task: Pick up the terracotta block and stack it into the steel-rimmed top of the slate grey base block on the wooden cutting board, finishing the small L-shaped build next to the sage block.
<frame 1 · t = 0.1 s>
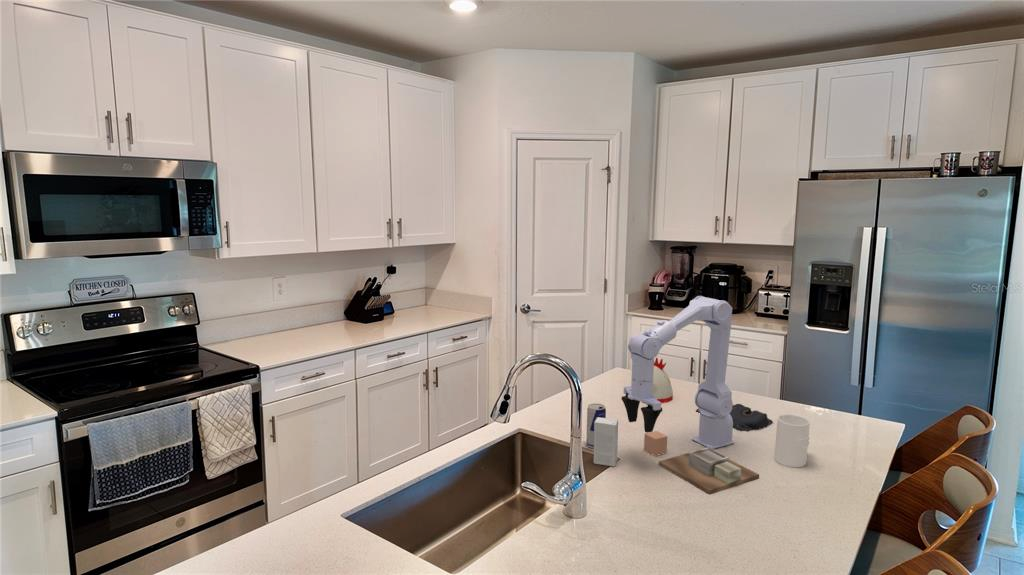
hand: (640, 426, 160), 10 cm above the countertop, tool pointing down, fingers open, 7 cm apart
wooden cutting board: (707, 471, 156), on the countertop
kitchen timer: (652, 397, 213), on the countertop
dark slate chunk: (733, 419, 194), on the countertop
energy drink: (595, 446, 171), on the countertop
terracotta block: (655, 451, 168), on the countertop
skincare box: (605, 462, 161), on the countertop
mug: (794, 460, 163), on the countertop
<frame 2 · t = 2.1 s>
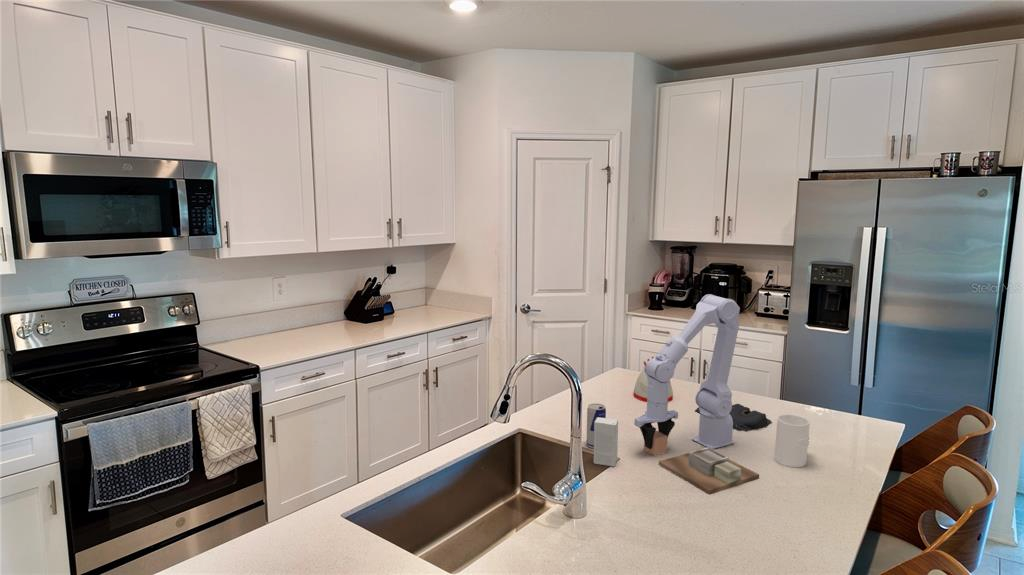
hand: (655, 445, 167), 2 cm above the countertop, tool pointing down, fingers closed on terracotta block, 4 cm apart
terracotta block: (655, 451, 168), on the countertop, touching gripper
everything else where it was.
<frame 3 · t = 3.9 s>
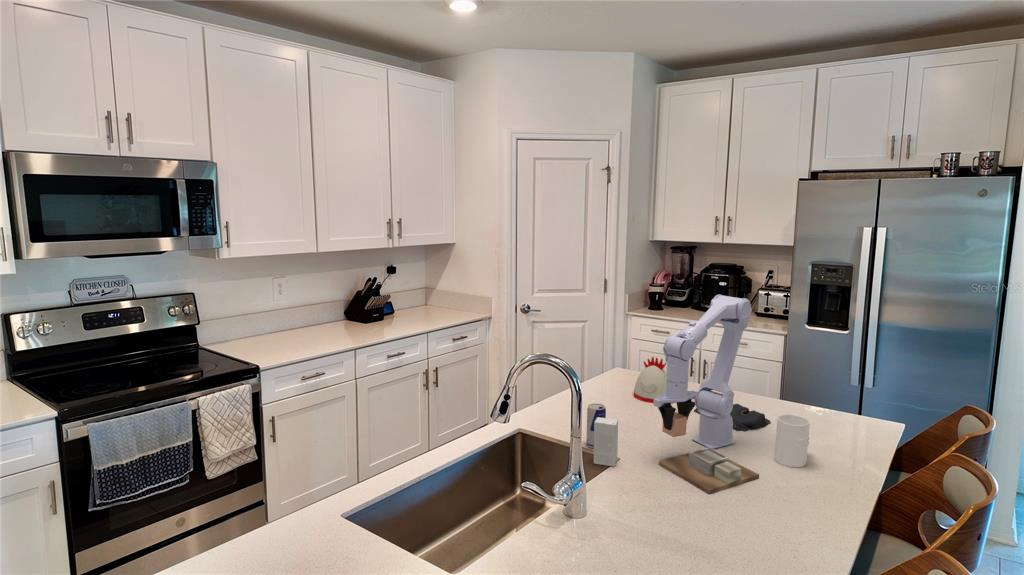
hand: (674, 427, 162), 9 cm above the countertop, tool pointing down, fingers closed on terracotta block, 4 cm apart
terracotta block: (674, 432, 162), point 7 cm above the countertop, touching gripper
everything else where it was.
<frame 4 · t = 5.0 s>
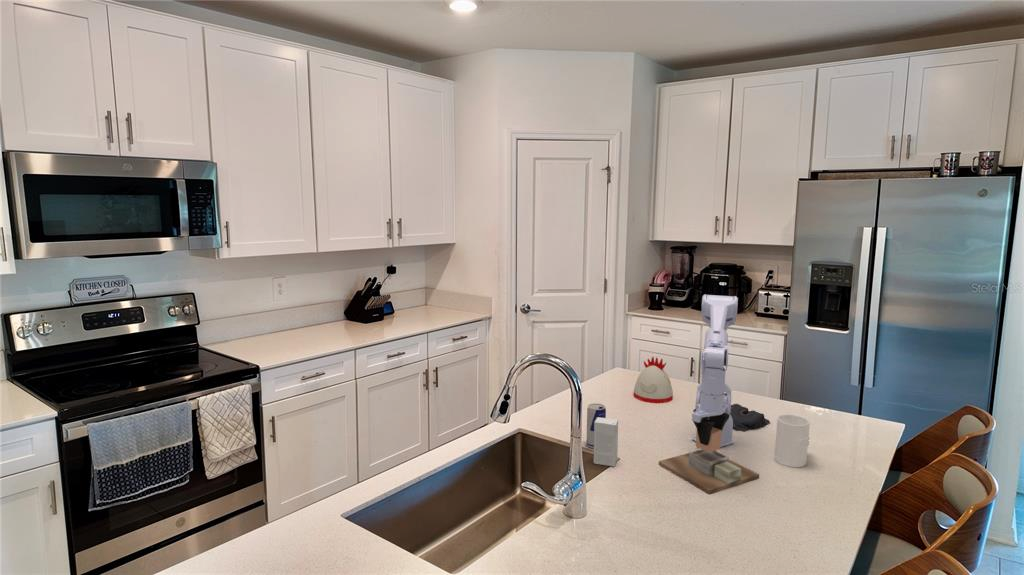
hand: (709, 441, 154), 8 cm above the countertop, tool pointing down, fingers closed on terracotta block, 4 cm apart
terracotta block: (708, 447, 155), point 7 cm above the countertop, touching gripper
everything else where it was.
when the fingers open (7 cm above the countertop, at t = 5.8 s): terracotta block stays where it is, resting on wooden cutting board.
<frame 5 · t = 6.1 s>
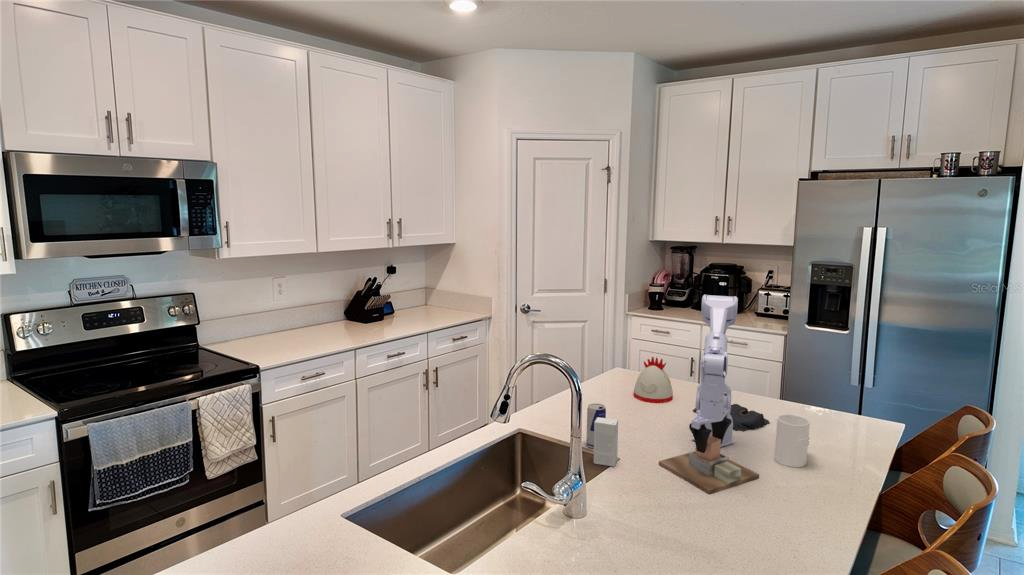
hand: (709, 447, 155), 7 cm above the countertop, tool pointing down, fingers open, 7 cm apart
terracotta block: (707, 456, 155), point 4 cm above the countertop, touching wooden cutting board
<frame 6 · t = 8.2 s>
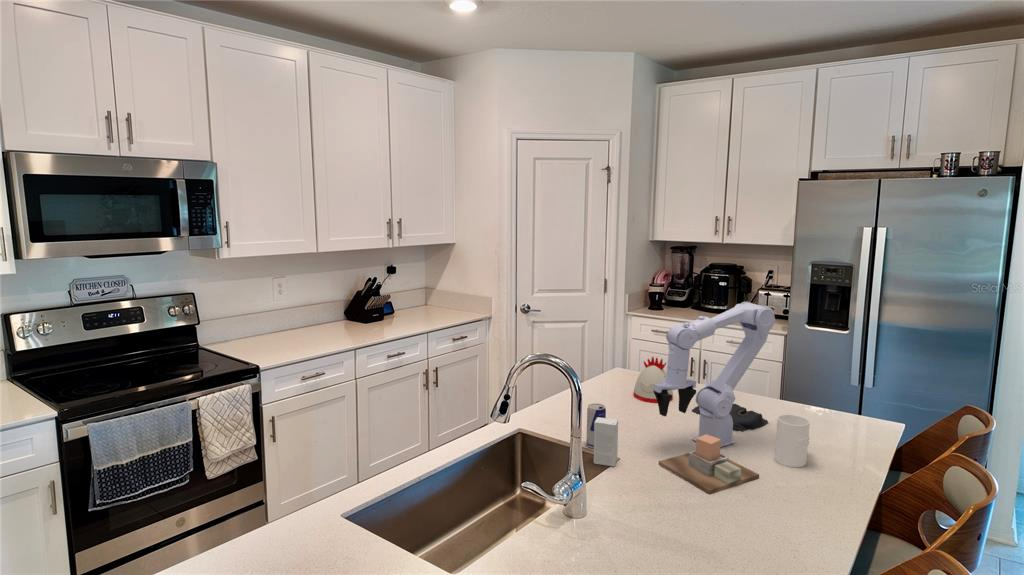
hand: (672, 413, 168), 10 cm above the countertop, tool pointing down, fingers open, 7 cm apart
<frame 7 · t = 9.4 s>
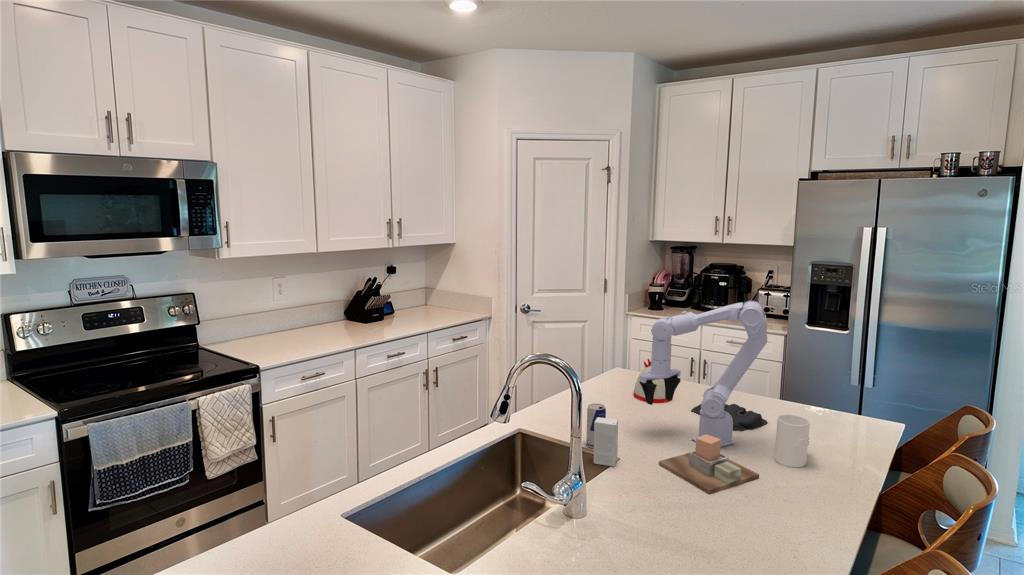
hand: (659, 401, 178), 10 cm above the countertop, tool pointing down, fingers open, 7 cm apart
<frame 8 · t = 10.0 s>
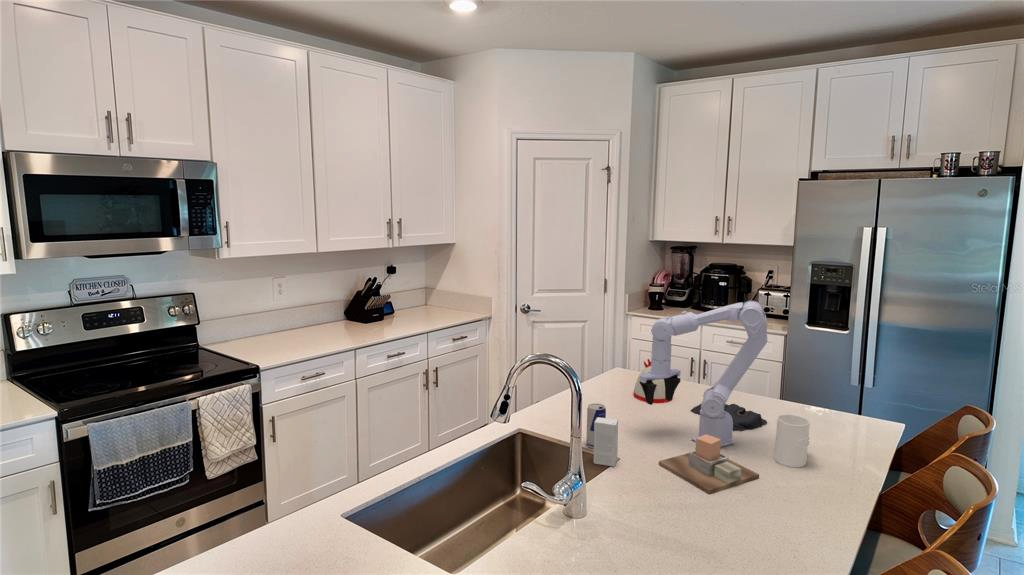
hand: (659, 401, 178), 10 cm above the countertop, tool pointing down, fingers open, 7 cm apart
at the end: terracotta block 0.2 cm off-centre on the wooden cutting board, point 4.0 cm above the wooden cutting board's base; terracotta block tilted 0°; the gripper is holding nothing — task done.
